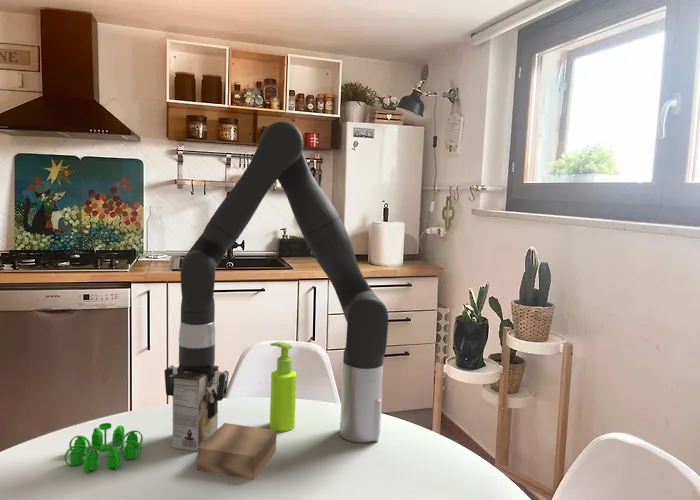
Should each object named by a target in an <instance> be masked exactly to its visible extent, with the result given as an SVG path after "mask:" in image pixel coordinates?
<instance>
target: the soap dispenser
mask: <svg viewBox="0 0 700 500" xmlns="http://www.w3.org/2000/svg"><path fill="white" fill-rule="evenodd" d="M270 346H271V347H278V348H281V349H280V350H281V351H280V356H279V357H277V359H276V361H277V363H276V369H274V370H273V371H271V377H270V379H271V381H270V405H269V406H270V407H269V408H270V409H269V429H270V430H276V431H277V432H281V433H283V432H284V433H285V432H290V431H292V430H293V429H294V428H295V425H296V424H295V423H296V401H297V400H296V398H297V395H296V393H297V371H295V370H293V369H292V367H293V366H292V363H293V358H292V357H290V356H289V350H290V349H292V348H293V345H292V344H290V343H289V344H288V343H287V342H283V341H276V342H272V343H270Z"/></svg>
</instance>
